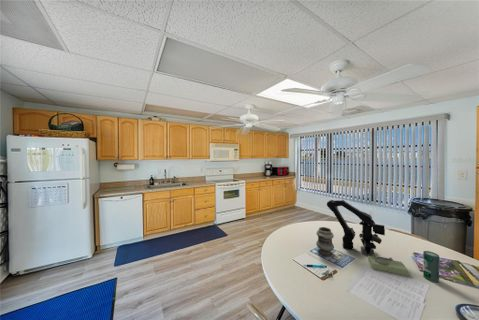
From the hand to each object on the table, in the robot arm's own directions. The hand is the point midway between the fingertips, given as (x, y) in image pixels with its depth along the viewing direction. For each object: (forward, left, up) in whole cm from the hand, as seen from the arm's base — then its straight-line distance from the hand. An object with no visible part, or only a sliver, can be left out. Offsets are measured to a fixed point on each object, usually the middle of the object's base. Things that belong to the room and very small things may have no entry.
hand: (367, 251), depth 128 cm
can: (+27, -18, -1) cm, 32 cm away
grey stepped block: (0, 0, -1) cm, 1 cm away
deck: (+7, -13, -1) cm, 15 cm away
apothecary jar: (-29, -11, -1) cm, 31 cm away
